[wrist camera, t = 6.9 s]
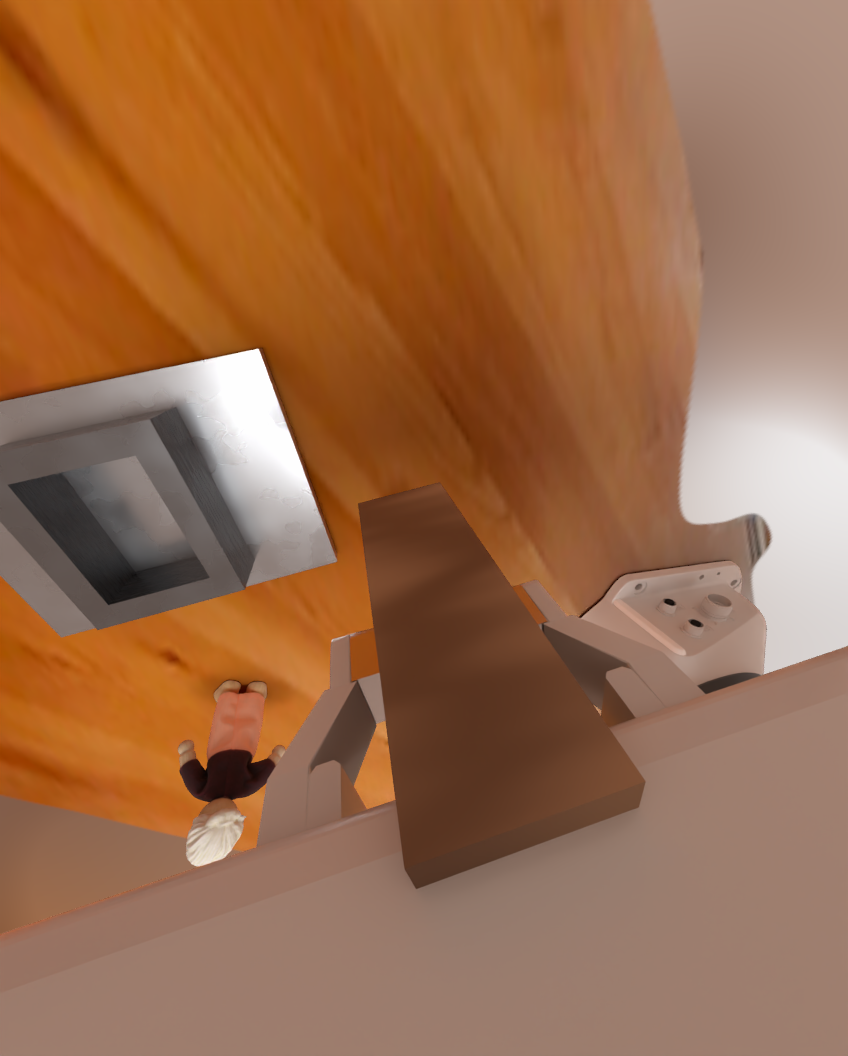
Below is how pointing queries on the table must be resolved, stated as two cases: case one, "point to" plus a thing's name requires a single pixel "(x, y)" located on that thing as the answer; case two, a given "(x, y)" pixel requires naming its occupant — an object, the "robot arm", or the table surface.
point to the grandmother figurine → (226, 770)
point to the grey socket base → (153, 493)
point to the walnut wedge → (476, 699)
